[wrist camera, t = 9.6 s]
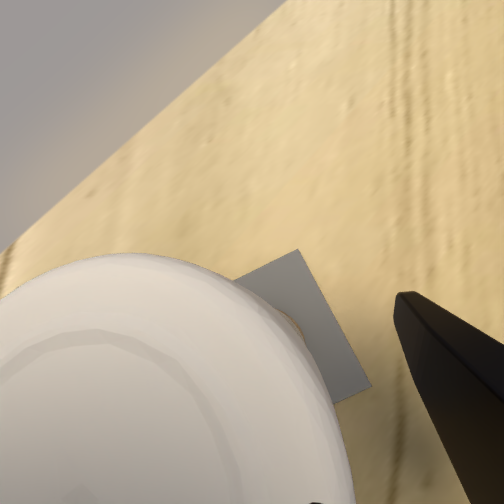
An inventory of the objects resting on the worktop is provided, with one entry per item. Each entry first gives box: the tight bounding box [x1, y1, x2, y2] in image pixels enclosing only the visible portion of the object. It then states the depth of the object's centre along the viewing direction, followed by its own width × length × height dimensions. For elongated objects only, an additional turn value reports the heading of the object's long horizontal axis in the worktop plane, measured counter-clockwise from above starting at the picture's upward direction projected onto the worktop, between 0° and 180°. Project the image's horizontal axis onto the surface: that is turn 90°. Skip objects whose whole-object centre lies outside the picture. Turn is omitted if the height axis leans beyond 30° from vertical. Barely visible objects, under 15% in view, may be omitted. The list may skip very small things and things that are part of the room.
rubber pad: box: [234, 249, 372, 404], centre depth 15 cm, size 8×8×1 cm
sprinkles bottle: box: [0, 253, 356, 504], centre depth 9 cm, size 5×5×13 cm
